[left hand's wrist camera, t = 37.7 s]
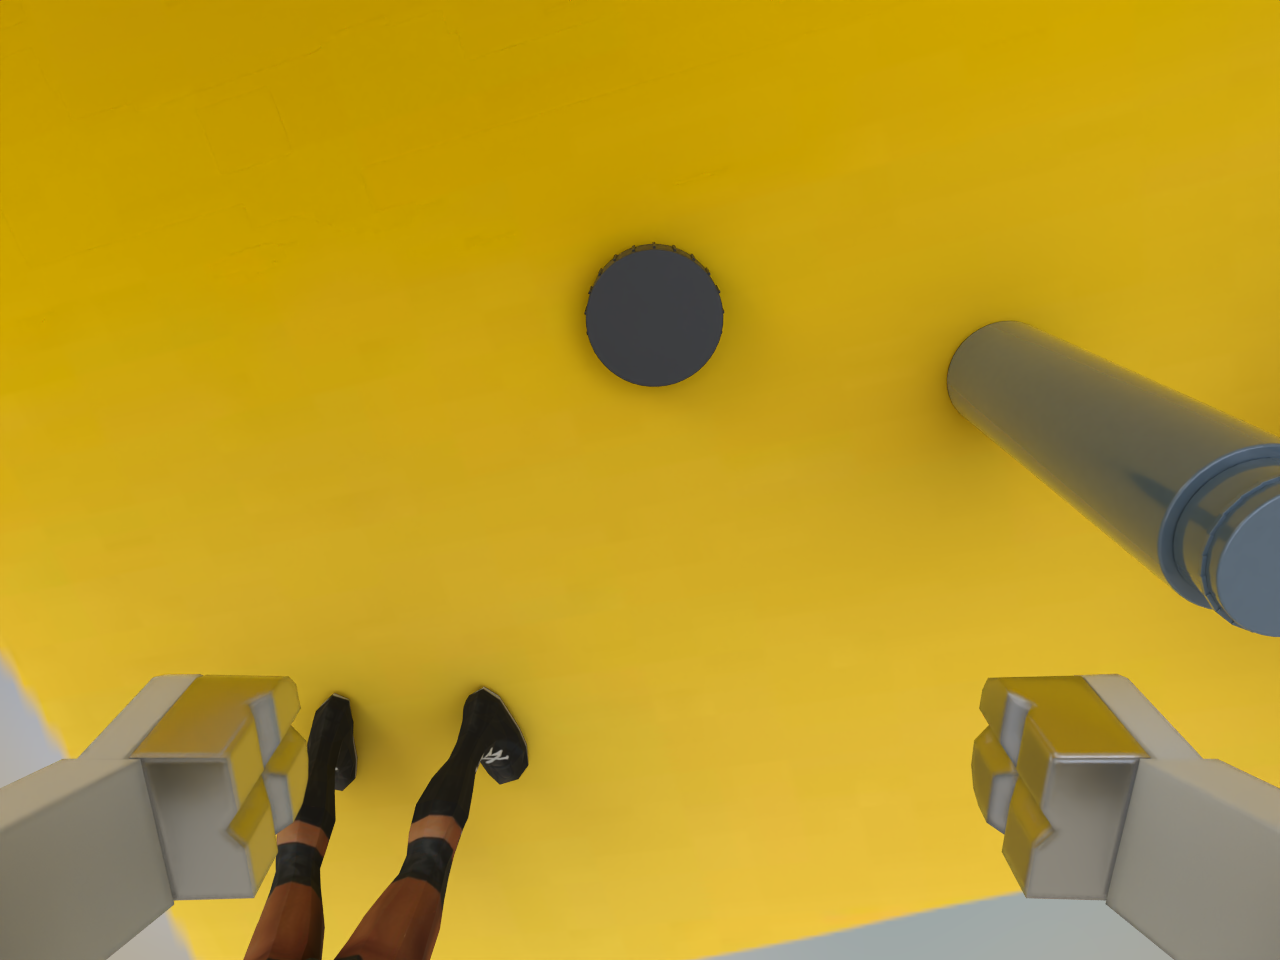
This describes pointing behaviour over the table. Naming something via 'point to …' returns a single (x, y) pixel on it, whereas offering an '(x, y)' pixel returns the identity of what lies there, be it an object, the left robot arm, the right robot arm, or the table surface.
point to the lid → (654, 315)
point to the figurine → (413, 903)
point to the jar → (1136, 464)
